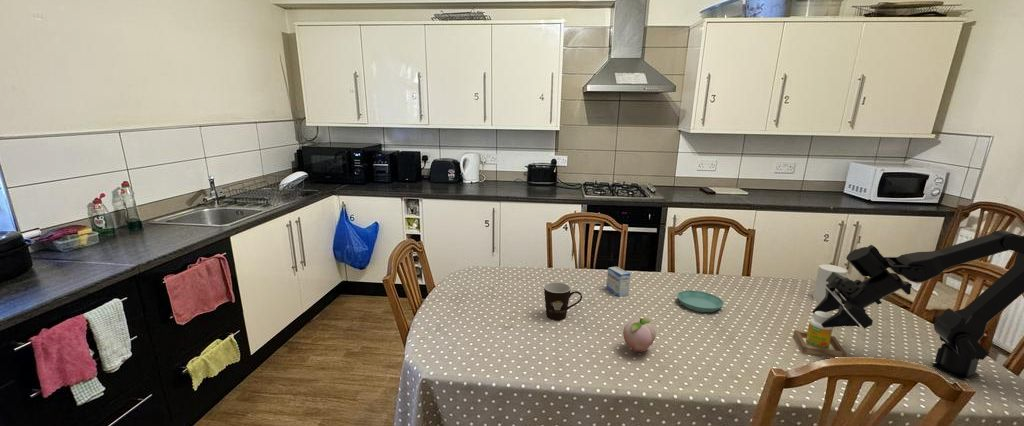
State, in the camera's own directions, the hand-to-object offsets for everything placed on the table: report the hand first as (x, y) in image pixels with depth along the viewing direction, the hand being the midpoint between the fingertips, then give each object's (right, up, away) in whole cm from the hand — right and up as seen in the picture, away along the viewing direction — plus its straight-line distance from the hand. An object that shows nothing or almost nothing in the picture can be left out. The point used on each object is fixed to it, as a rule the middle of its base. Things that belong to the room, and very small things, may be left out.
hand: (817, 319), depth 119 cm
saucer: (-21, -2, +28) cm, 35 cm away
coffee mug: (-70, -4, +18) cm, 73 cm away
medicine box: (-47, 0, +38) cm, 60 cm away
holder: (+1, -8, +1) cm, 9 cm away
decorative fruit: (-51, -9, -1) cm, 52 cm away
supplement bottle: (+1, -8, +1) cm, 8 cm away
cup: (+27, -2, +33) cm, 43 cm away
